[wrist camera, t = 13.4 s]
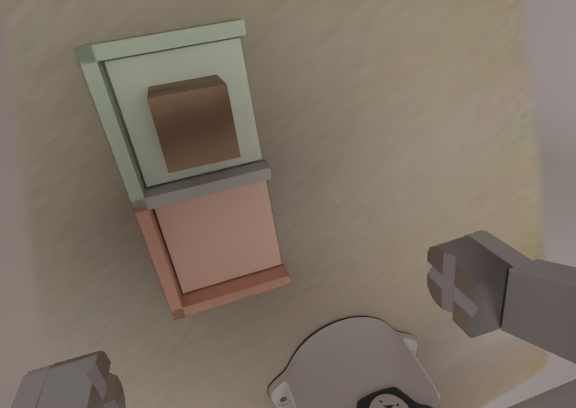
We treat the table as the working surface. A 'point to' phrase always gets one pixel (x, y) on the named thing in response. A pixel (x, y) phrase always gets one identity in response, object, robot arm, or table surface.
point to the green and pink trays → (197, 190)
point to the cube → (194, 122)
